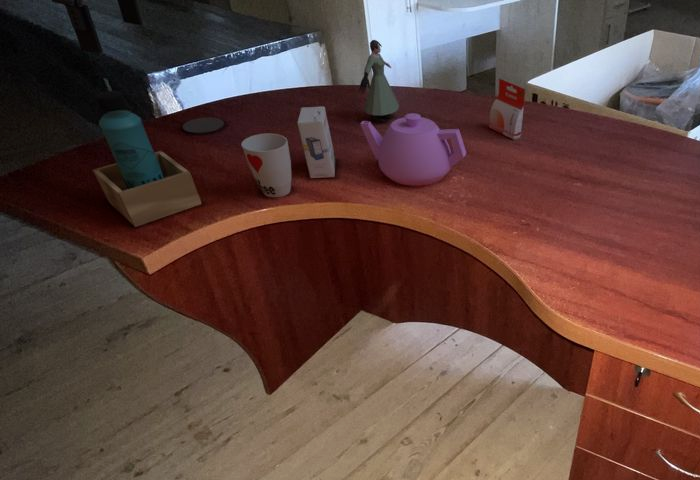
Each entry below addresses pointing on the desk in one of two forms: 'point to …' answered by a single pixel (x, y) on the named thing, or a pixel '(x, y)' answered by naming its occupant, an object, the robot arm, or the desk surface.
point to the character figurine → (378, 86)
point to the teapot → (414, 150)
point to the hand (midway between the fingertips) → (114, 36)
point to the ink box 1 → (317, 142)
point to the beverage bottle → (128, 141)
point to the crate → (150, 192)
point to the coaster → (203, 125)
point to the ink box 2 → (508, 109)
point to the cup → (269, 163)
